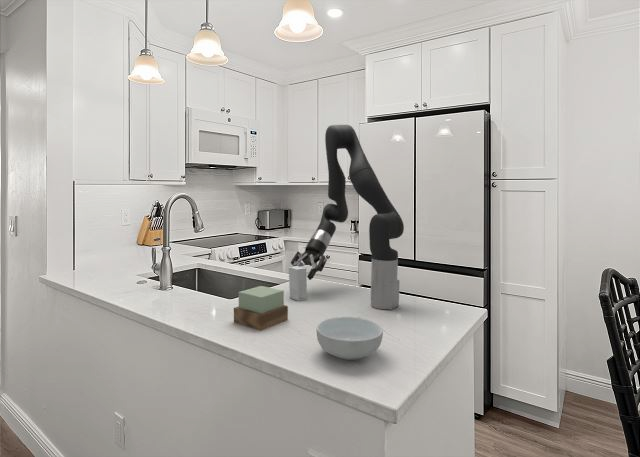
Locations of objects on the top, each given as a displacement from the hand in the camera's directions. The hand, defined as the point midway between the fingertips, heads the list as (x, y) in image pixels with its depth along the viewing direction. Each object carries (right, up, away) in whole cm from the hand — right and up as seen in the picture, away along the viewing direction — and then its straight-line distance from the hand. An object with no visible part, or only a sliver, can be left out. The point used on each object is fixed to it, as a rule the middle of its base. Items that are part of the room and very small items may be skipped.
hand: (300, 276), depth 153 cm
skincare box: (-1, -8, 0) cm, 8 cm away
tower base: (-11, -11, -25) cm, 30 cm away
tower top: (-11, -6, -25) cm, 29 cm away
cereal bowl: (+15, -14, -49) cm, 53 cm away
